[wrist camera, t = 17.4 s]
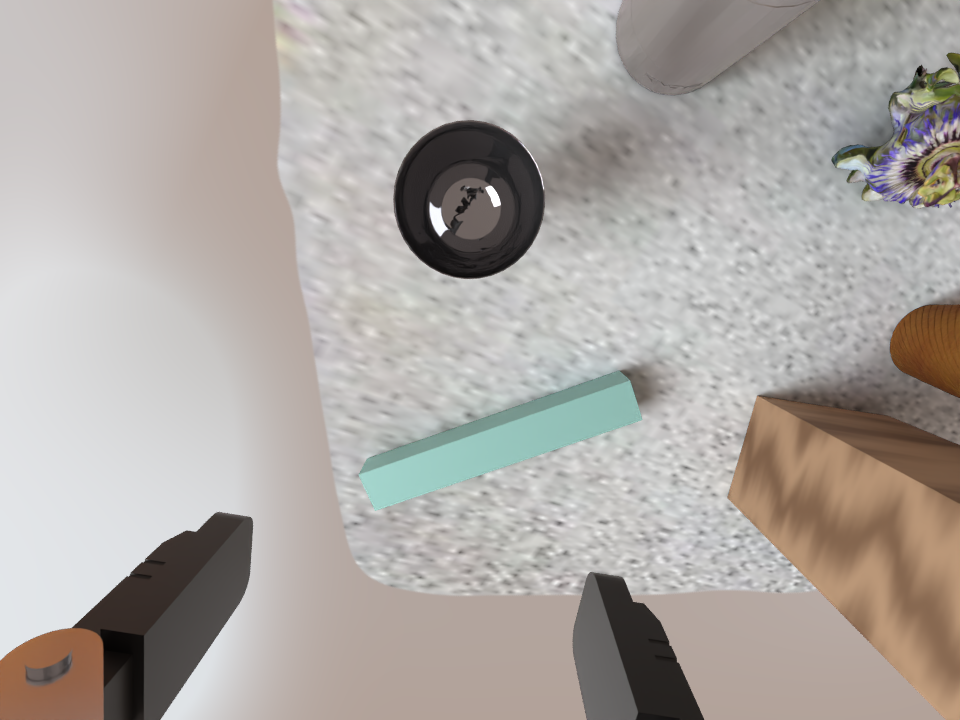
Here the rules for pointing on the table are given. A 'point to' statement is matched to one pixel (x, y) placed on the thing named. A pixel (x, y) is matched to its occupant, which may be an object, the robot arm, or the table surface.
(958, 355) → the disposable coffee cup
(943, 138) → the passion flower
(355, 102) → the table surface
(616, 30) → the robot arm
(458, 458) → the rail
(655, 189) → the table surface
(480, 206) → the wine glass
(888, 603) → the tall wooden pillar block
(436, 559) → the table surface
